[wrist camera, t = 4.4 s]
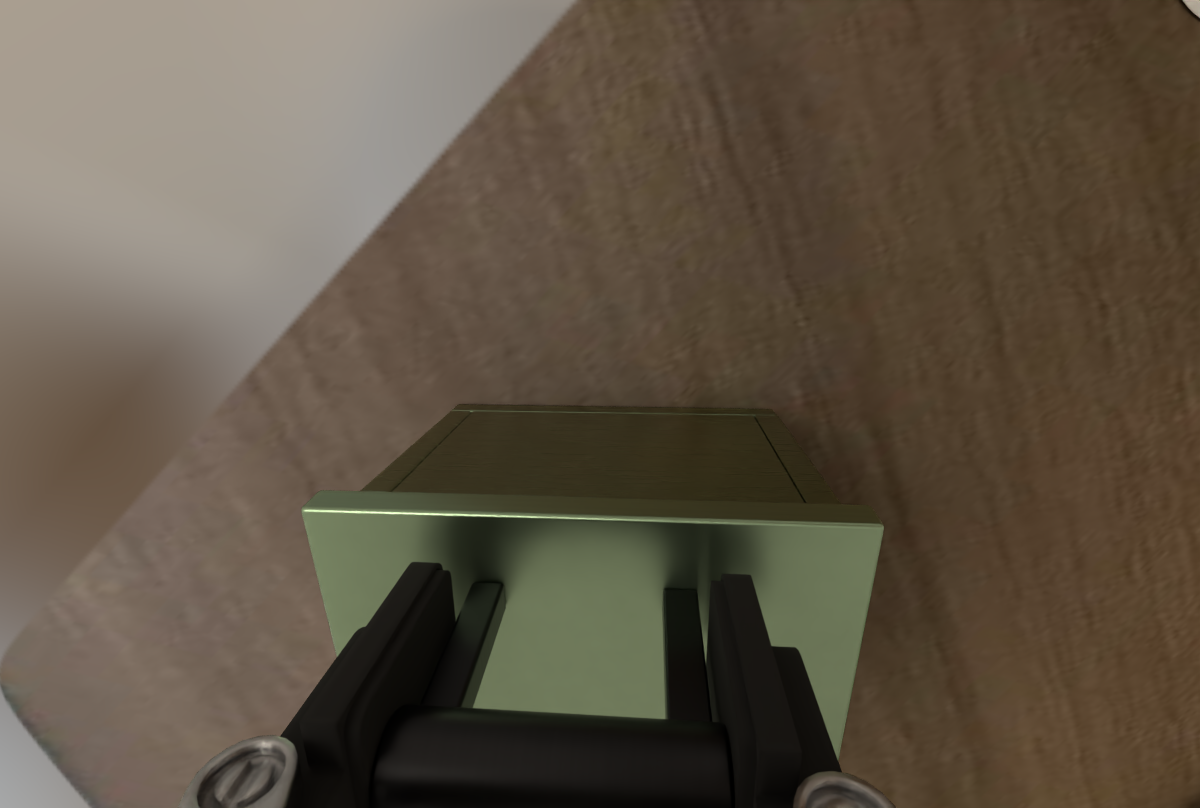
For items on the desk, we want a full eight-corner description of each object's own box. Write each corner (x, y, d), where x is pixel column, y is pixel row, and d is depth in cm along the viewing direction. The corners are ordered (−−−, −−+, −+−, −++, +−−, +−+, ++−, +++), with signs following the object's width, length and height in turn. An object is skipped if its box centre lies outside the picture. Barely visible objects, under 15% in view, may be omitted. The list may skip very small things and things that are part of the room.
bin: (457, 403, 22) (356, 491, 14) (772, 408, 21) (843, 505, 13) (481, 699, 25) (411, 893, 18) (749, 714, 24) (793, 925, 17)
